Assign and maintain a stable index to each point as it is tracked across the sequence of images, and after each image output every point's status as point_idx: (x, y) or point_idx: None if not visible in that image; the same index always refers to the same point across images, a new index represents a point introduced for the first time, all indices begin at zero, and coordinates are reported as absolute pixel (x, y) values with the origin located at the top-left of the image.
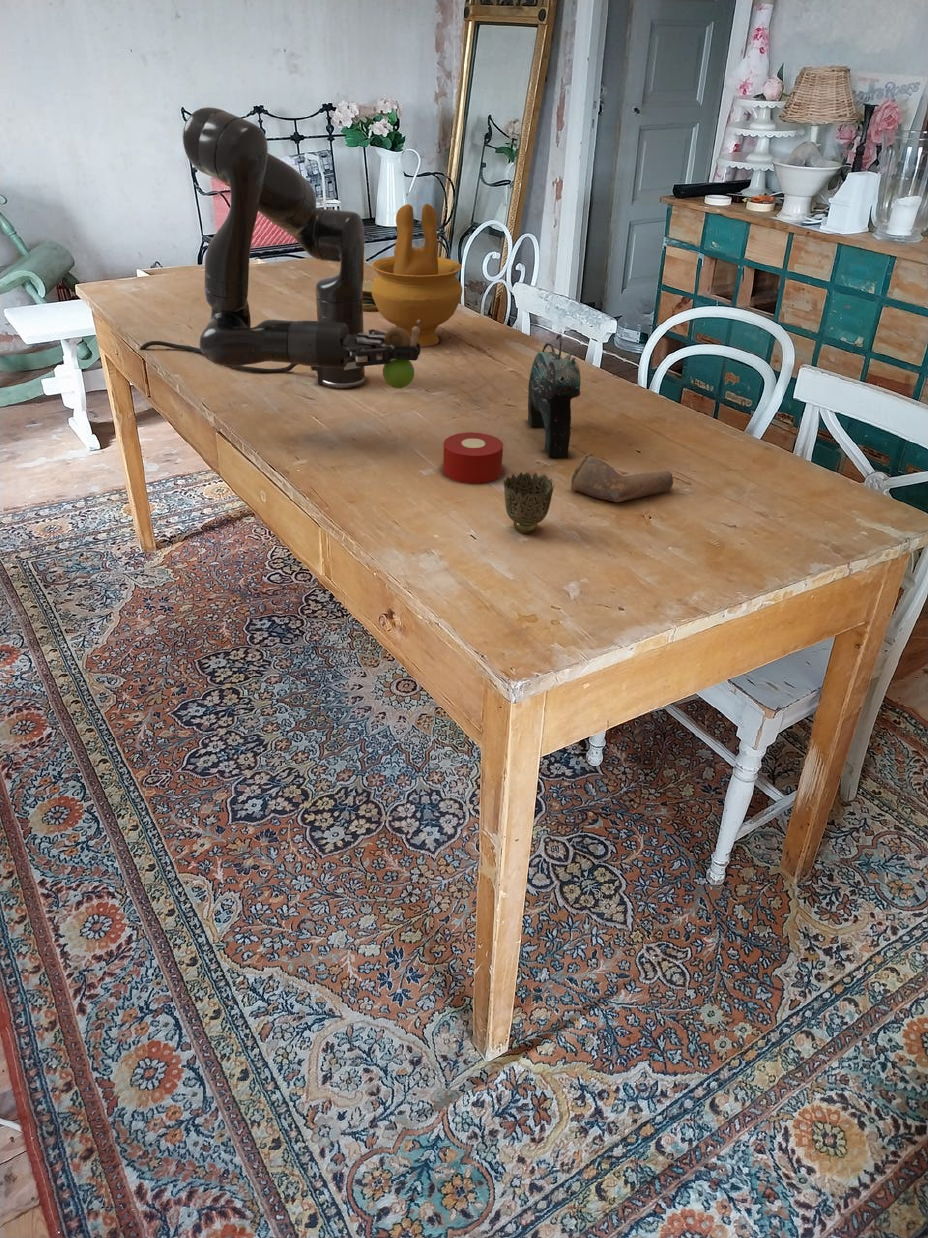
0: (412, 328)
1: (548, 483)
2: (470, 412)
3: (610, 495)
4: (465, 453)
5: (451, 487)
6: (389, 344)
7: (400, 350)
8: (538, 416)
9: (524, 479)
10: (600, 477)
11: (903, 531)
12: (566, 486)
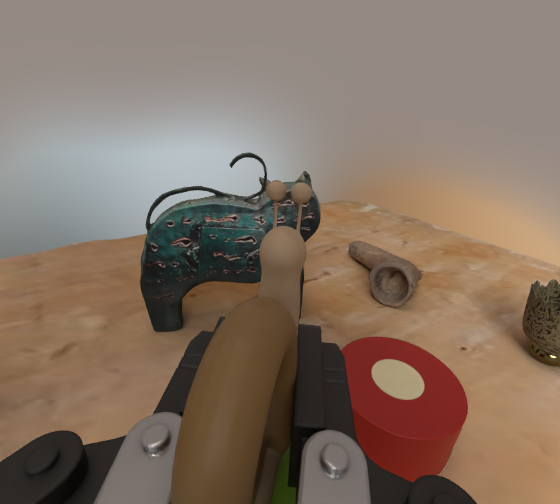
0: (287, 249)
1: (535, 288)
2: (59, 419)
3: (419, 277)
4: (458, 393)
5: (485, 463)
6: (304, 486)
7: (351, 409)
8: (181, 308)
9: (543, 309)
10: (415, 269)
11: (368, 205)
12: (383, 312)
